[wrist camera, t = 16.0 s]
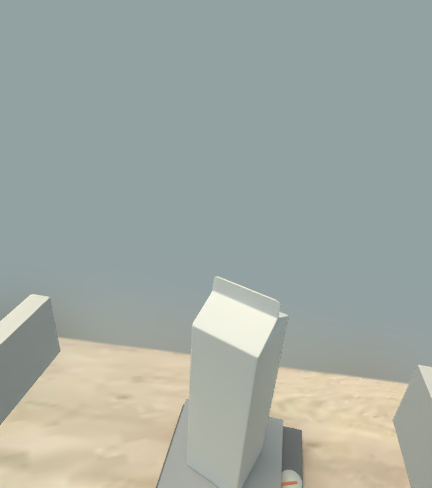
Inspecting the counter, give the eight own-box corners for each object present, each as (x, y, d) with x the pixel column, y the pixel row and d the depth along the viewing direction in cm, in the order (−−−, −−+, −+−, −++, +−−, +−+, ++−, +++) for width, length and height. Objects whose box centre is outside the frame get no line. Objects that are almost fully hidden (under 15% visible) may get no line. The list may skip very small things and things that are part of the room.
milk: (216, 422, 42) (232, 259, 31) (263, 451, 39) (296, 283, 29) (185, 466, 37) (191, 291, 27) (235, 502, 34) (264, 322, 24)
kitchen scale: (298, 440, 44) (304, 420, 42) (300, 571, 33) (307, 551, 31) (182, 414, 46) (183, 394, 45) (146, 528, 35) (145, 508, 33)
